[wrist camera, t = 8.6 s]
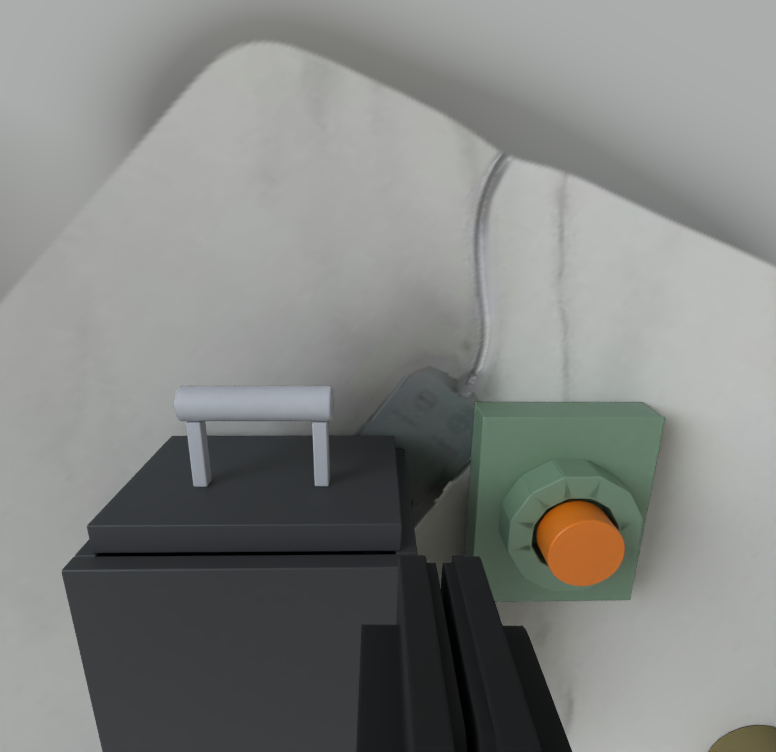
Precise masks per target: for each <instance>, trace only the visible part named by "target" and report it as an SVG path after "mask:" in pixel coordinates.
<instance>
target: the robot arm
mask: <svg viewBox="0 0 776 752" xmlns="http://www.w3.org/2000/svg"><path fill="white" fill-rule="evenodd" d="M356 752H572V750H571V747H570V745H569V742H568V739H567V737H566V734H565V731H564V729H563V726H562V723H561V721H560V718H559V715H558V713H557V710H556V707H555V705H554V702H553V699H552V697H551V694H550V691H549V689H548V686H547V683H546V681H545V678H544V675H543V673H542V670H541V667H540V665H539V662H538V659H537V657H536V654H535V652H534V649H533V646H532V644H531V641H530V638H529V636H528V633H527V631H526V629H525V628H524V627H523V626H502V623H501V620H500V617H499V614H498V611H497V607H496V604H495V601H494V598H493V595H492V592H491V589H490V585H489V582H488V579H487V576H486V573H485V570H484V567H483V563H482V560H481V558H480V557H479V556H453V557H452V562H451V563H443V566H442V577H441V589H440V584H439V578H438V572H437V567H436V563H427V562H426V557H425V556H419V555H399V563H398V586H397V610H396V625H369V624H362V625H361V647H360V671H359V695H358V720H357V744H356Z"/></svg>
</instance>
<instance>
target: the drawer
mask: <svg viewBox="0 0 776 752" xmlns="http://www.w3.org/2000/svg"><path fill="white" fill-rule="evenodd" d="M174 408H175V414H176V417H177V418H178V419H179V420H180V421H187V422H186V429H187V436H171V437H170V439H169V440H168V441H167V442H166V443H165V444H164V445H163V446H162V447H161V448H160V449H159V450H158V451H157V452H156V453H155V454H154V455H153V456H152V458H151V459H150V460H149V461H148V462H147V463H146V464H145V465H144V466H143V467H142V468H141V469H140V470H139V471H138V472H137V473H136V474H135V476H134V477H133V478H132V479H131V480H130V481H129V482H128V483H127V484H126V485H125V486H124V487H123V488H122V489H121V490H120V491H119V492H118V493H117V495H116V496H115V497H114V498H113V499H112V500H111V501H110V502H109V503H108V504H107V505H106V506H105V507H104V508H103V509H102V510H101V511H100V513H99V514H98V515H97V516H96V517H95V518H94V519H93V520H92V521H91V522H90V523H89V524H88V525H87V529H88V534H89V539H90V544H91V549H92V553H139V554H138V555H137V556H236V555H369V554H382V551H401V537H402V521H401V510H400V498H399V486H398V474H397V463H396V451H395V439H394V436H329V425H328V421H331V420H332V418H333V408H334V397H333V388H332V386H180V387H179V388H178V389H177V392H176V395H175V400H174ZM205 421H313V423H312V430H313V436H207V433H206V424H205Z"/></svg>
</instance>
